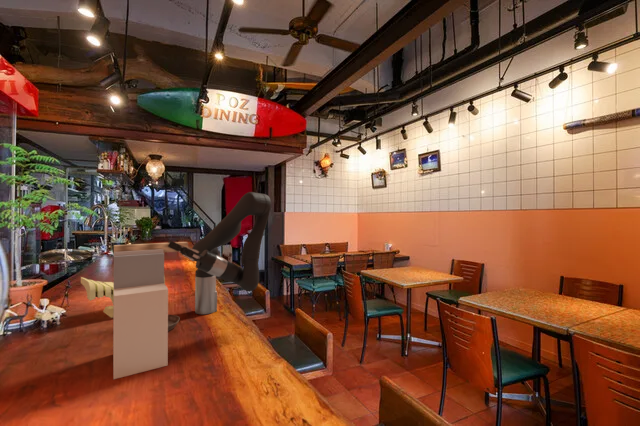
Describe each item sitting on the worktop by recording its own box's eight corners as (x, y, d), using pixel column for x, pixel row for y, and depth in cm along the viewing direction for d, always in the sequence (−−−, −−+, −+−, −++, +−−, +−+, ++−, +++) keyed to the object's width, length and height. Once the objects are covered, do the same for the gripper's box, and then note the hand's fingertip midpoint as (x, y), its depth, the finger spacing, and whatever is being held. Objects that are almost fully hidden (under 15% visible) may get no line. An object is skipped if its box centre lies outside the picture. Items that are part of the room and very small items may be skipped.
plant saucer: (120, 332, 119) (120, 325, 119) (160, 318, 135) (160, 311, 135) (150, 341, 112) (150, 333, 111) (189, 325, 128) (189, 318, 127)
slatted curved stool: (89, 325, 126) (90, 282, 125) (80, 316, 136) (80, 276, 136) (164, 307, 148) (164, 271, 148) (151, 301, 159) (152, 267, 159)
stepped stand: (160, 343, 109) (160, 247, 109) (167, 365, 94) (168, 253, 94) (113, 354, 101) (113, 249, 101) (113, 379, 86) (114, 257, 86)
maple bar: (186, 249, 111) (186, 241, 111) (187, 250, 108) (187, 242, 108) (113, 254, 98) (113, 245, 98) (113, 255, 96) (113, 246, 96)
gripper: (212, 252, 121) (171, 232, 113) (222, 257, 110) (178, 235, 101) (202, 269, 119) (159, 250, 111) (211, 276, 108) (165, 255, 99)
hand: (168, 243), depth 106 cm, fingers closed on maple bar, 3 cm apart
